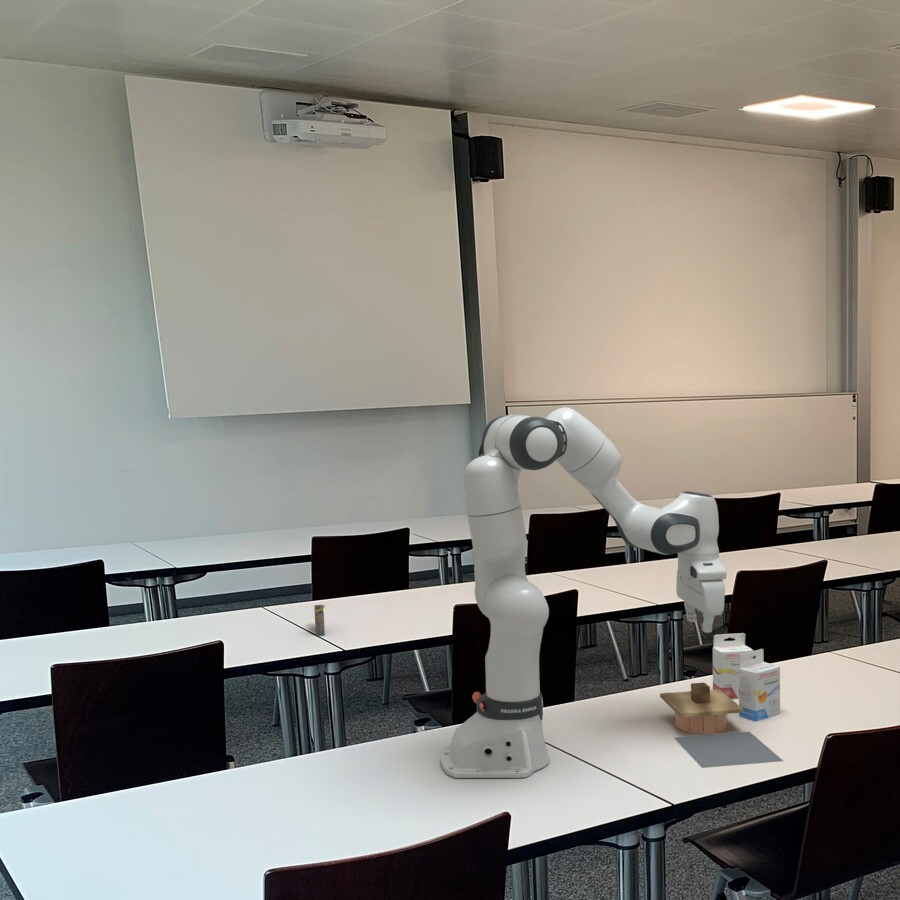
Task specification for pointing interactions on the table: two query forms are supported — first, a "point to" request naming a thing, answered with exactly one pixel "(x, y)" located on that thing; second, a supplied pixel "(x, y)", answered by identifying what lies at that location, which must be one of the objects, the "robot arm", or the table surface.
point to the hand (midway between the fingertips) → (699, 626)
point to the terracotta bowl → (702, 723)
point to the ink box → (758, 687)
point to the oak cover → (701, 701)
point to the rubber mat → (727, 749)
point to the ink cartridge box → (728, 662)
